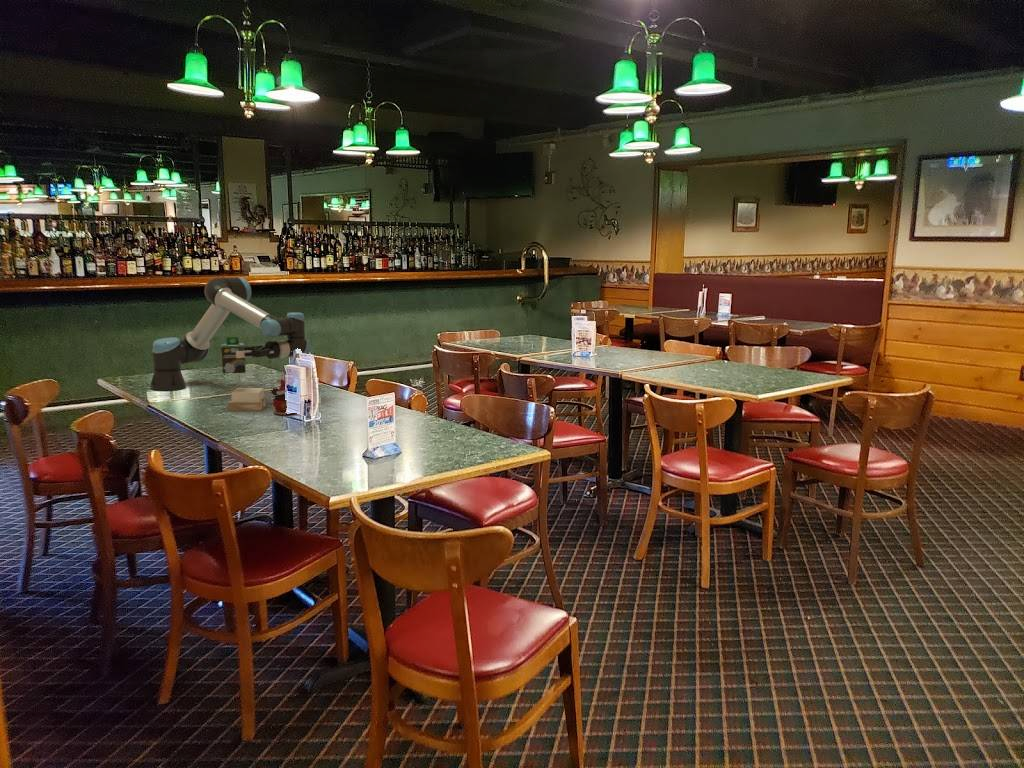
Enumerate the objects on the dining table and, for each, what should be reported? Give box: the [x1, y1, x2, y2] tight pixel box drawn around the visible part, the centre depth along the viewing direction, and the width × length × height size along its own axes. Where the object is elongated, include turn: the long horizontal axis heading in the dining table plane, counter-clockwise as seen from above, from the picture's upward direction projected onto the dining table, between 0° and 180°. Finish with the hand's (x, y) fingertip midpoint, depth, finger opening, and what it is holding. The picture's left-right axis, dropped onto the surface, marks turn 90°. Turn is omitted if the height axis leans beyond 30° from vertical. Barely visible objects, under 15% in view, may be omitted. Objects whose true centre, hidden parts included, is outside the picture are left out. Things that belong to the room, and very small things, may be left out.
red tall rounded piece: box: [270, 369, 287, 416], centre depth 304 cm, size 11×9×18 cm
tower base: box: [226, 396, 267, 412], centre depth 313 cm, size 13×13×4 cm
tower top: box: [231, 387, 265, 402], centre depth 312 cm, size 11×11×4 cm
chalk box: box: [220, 336, 247, 374], centre depth 308 cm, size 9×9×15 cm
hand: (229, 353), depth 307 cm, fingers closed on chalk box, 12 cm apart
